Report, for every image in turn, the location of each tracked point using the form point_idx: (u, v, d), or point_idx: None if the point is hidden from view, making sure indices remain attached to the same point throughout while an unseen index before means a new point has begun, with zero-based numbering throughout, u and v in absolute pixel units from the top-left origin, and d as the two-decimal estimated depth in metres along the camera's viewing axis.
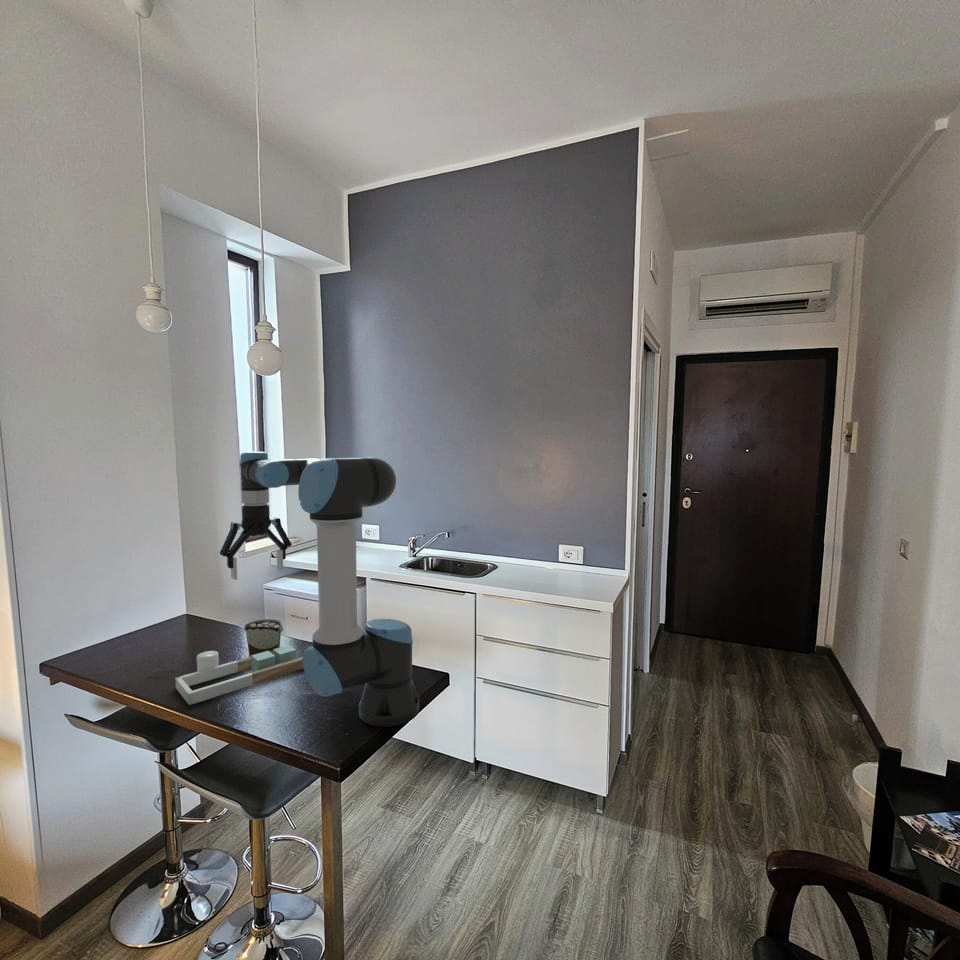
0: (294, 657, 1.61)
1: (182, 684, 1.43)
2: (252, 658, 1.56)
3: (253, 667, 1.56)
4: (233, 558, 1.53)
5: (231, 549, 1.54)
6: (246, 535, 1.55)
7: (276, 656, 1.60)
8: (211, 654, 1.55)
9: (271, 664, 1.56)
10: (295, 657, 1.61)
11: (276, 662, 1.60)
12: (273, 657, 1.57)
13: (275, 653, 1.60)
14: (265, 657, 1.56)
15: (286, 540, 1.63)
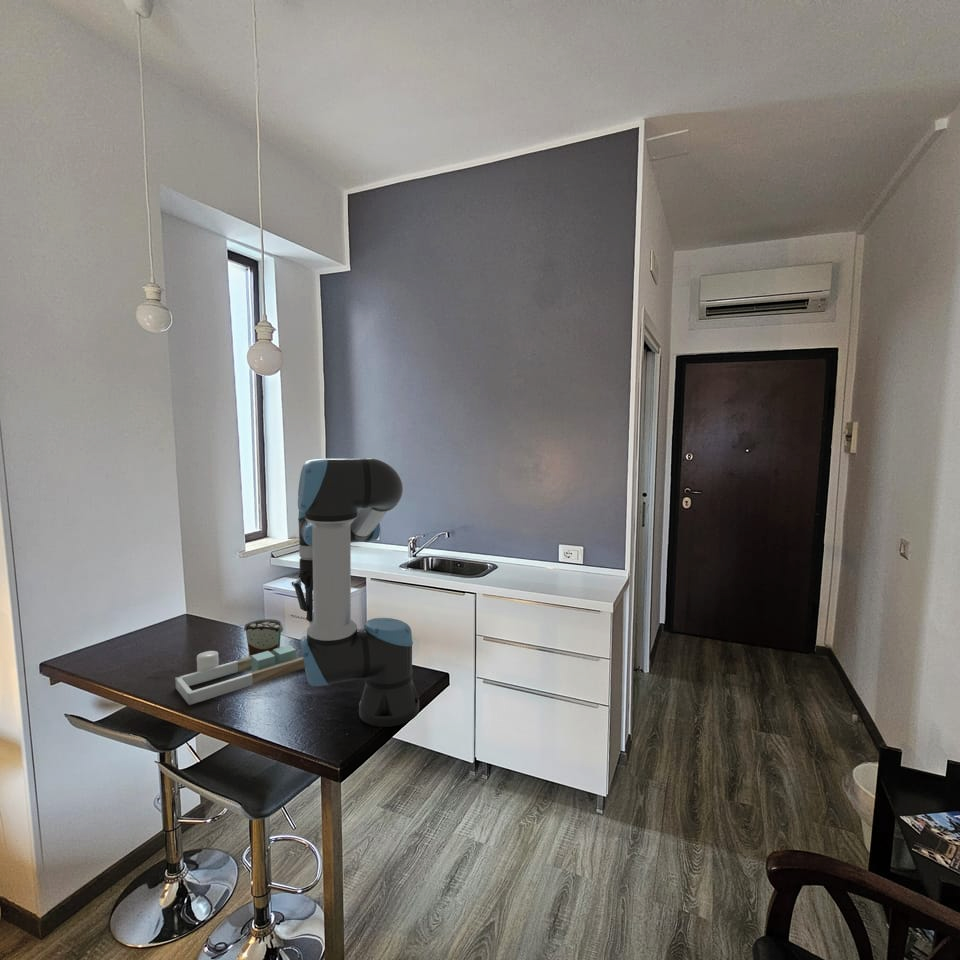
0: (294, 657, 1.61)
1: (182, 684, 1.43)
2: (252, 658, 1.56)
3: (253, 667, 1.56)
4: (312, 612, 1.66)
5: (307, 605, 1.66)
6: (310, 589, 1.64)
7: (276, 656, 1.60)
8: (211, 654, 1.55)
9: (271, 664, 1.56)
10: (295, 657, 1.61)
11: (276, 662, 1.60)
12: (273, 657, 1.56)
13: (275, 653, 1.60)
14: (265, 657, 1.56)
15: None
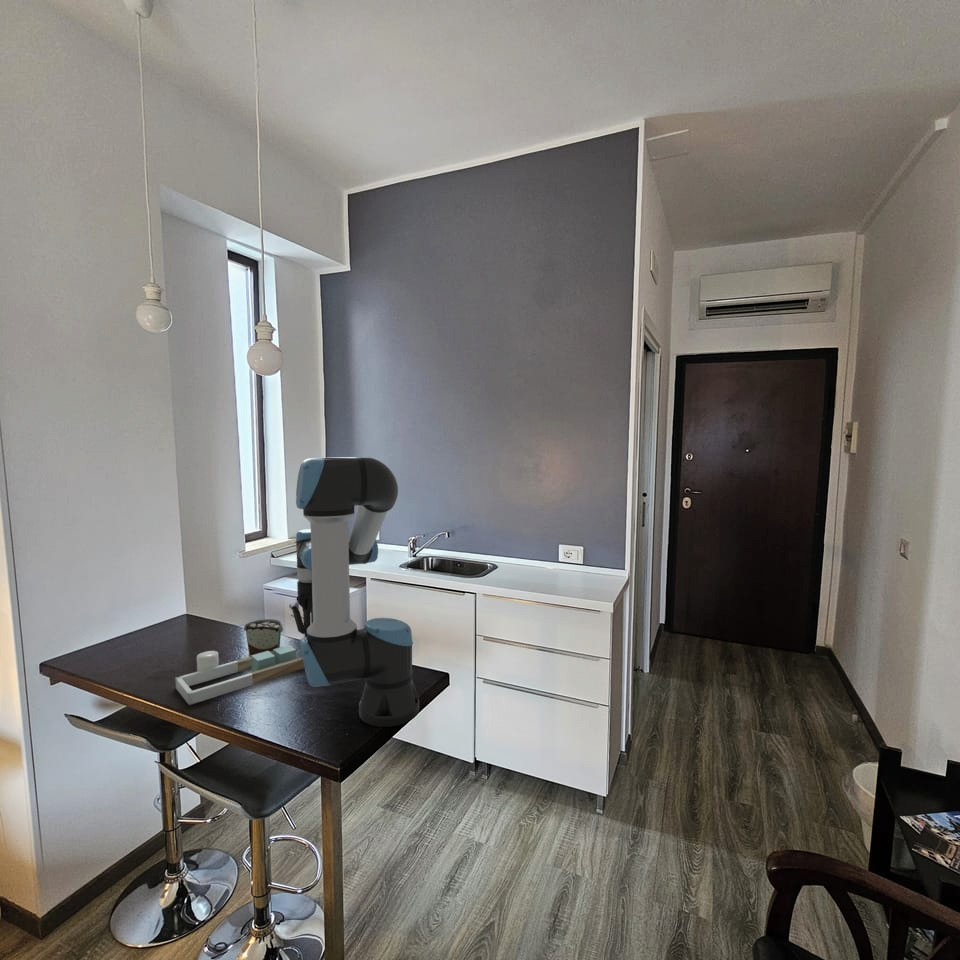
0: (294, 657, 1.61)
1: (182, 684, 1.43)
2: (252, 658, 1.56)
3: (253, 667, 1.56)
4: None
5: (305, 627, 1.65)
6: (308, 611, 1.64)
7: (276, 656, 1.60)
8: (211, 654, 1.55)
9: (271, 664, 1.56)
10: (295, 657, 1.61)
11: (276, 662, 1.60)
12: (273, 657, 1.56)
13: (275, 653, 1.60)
14: (265, 657, 1.56)
15: None
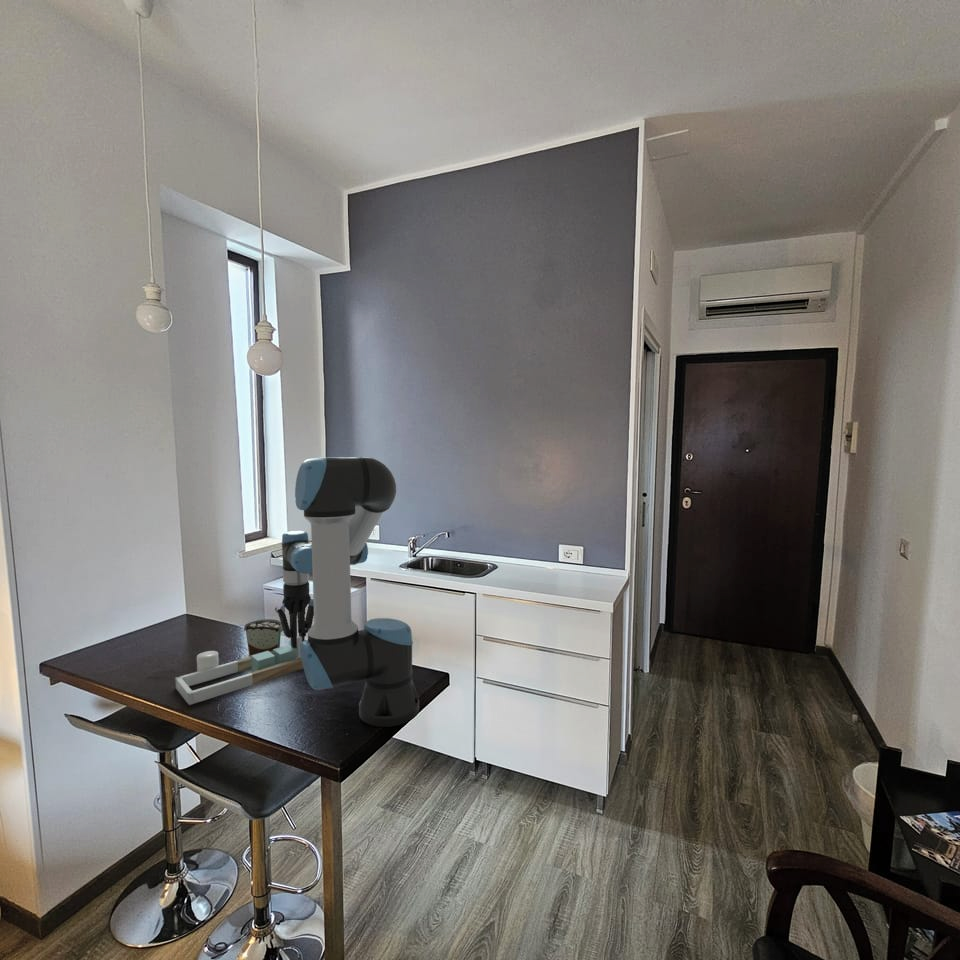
0: (294, 657, 1.61)
1: (182, 684, 1.43)
2: (252, 658, 1.56)
3: (253, 667, 1.56)
4: (297, 638, 1.63)
5: (291, 631, 1.62)
6: (294, 615, 1.61)
7: (276, 656, 1.60)
8: (211, 654, 1.55)
9: (271, 664, 1.56)
10: (295, 657, 1.61)
11: (276, 662, 1.60)
12: (273, 657, 1.56)
13: (275, 653, 1.60)
14: (265, 657, 1.56)
15: (309, 624, 1.65)
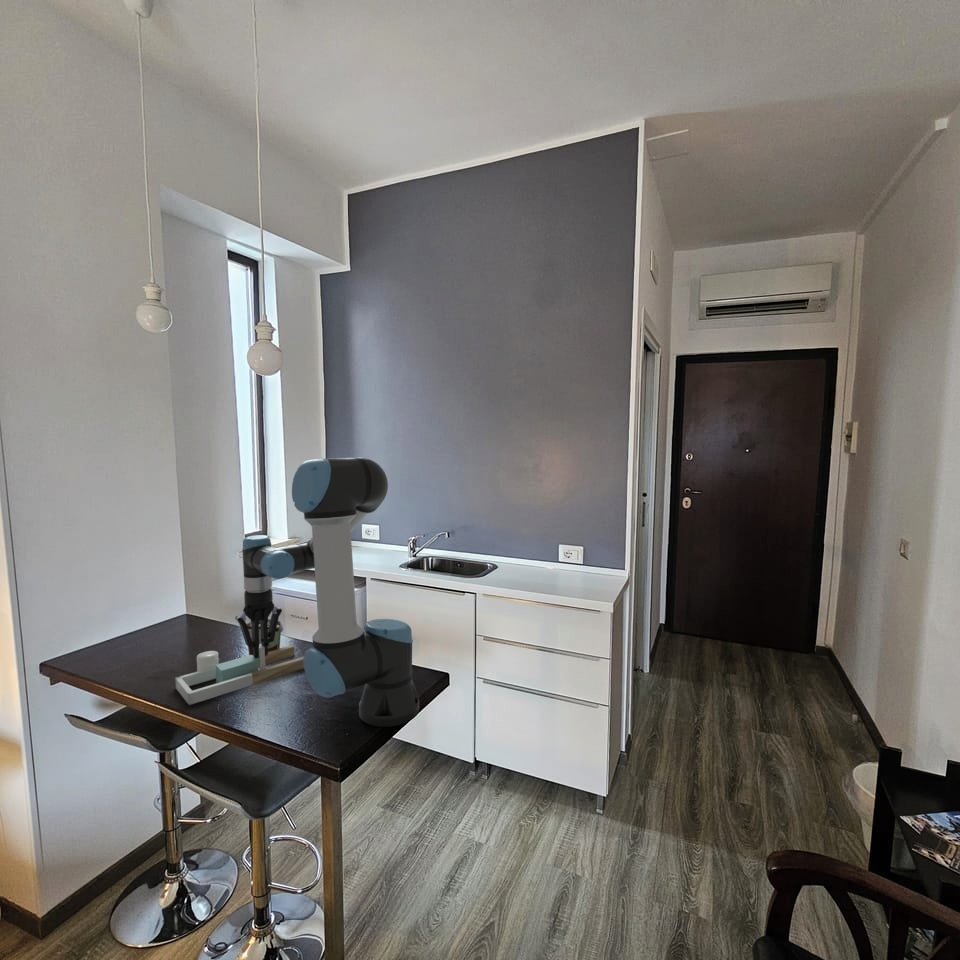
0: (256, 668, 1.53)
1: (182, 684, 1.43)
2: (216, 668, 1.50)
3: (217, 677, 1.50)
4: (259, 648, 1.55)
5: (253, 640, 1.55)
6: (256, 623, 1.53)
7: None
8: (211, 654, 1.55)
9: (235, 674, 1.49)
10: (257, 668, 1.54)
11: None
12: (238, 667, 1.50)
13: None
14: (229, 667, 1.49)
15: (272, 633, 1.57)
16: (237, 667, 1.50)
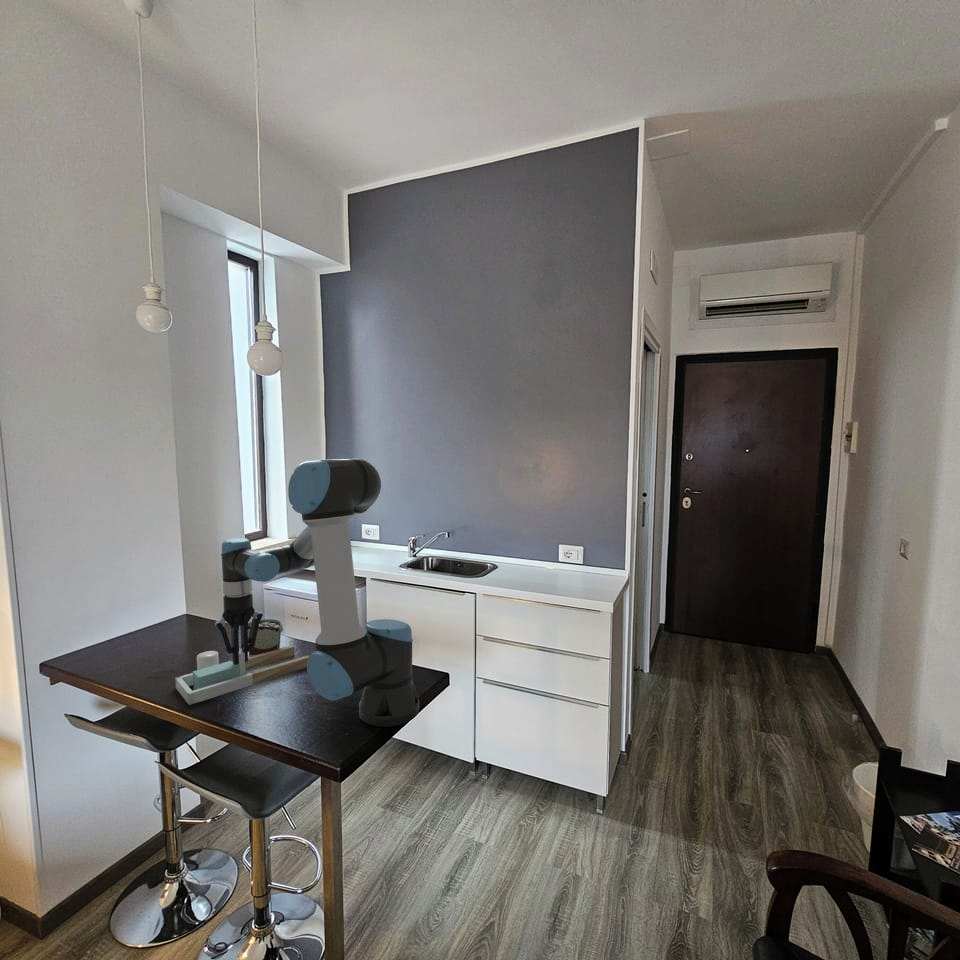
0: (235, 674, 1.49)
1: (182, 684, 1.43)
2: (193, 674, 1.46)
3: (194, 684, 1.46)
4: (239, 654, 1.51)
5: (233, 646, 1.51)
6: (235, 629, 1.49)
7: None
8: (211, 654, 1.55)
9: (213, 680, 1.45)
10: (236, 674, 1.49)
11: None
12: (216, 673, 1.46)
13: None
14: (207, 673, 1.45)
15: (253, 639, 1.53)
16: (215, 674, 1.46)
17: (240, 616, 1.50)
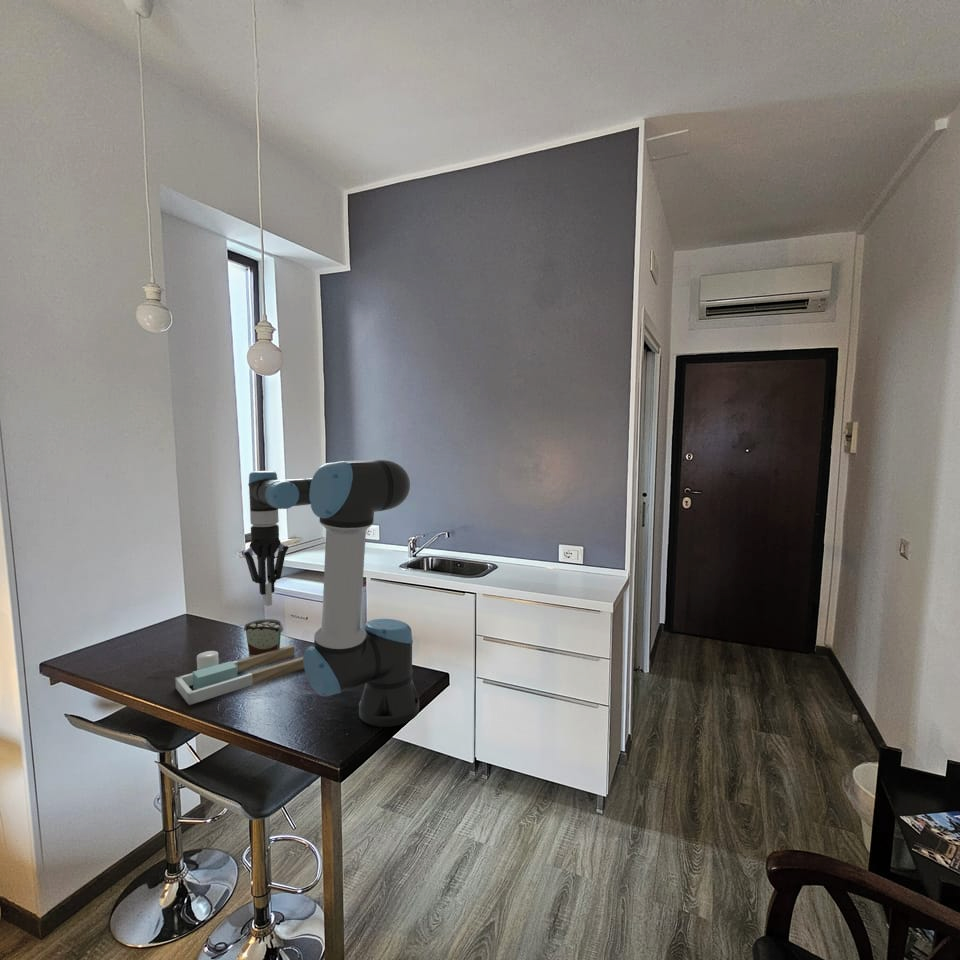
0: (234, 675, 1.49)
1: (182, 684, 1.43)
2: (193, 675, 1.46)
3: (194, 684, 1.46)
4: (265, 584, 1.54)
5: (260, 576, 1.53)
6: (263, 559, 1.52)
7: None
8: (211, 654, 1.55)
9: (213, 681, 1.45)
10: (236, 675, 1.49)
11: None
12: (216, 673, 1.46)
13: None
14: (207, 674, 1.45)
15: (279, 571, 1.56)
16: (215, 674, 1.46)
17: (267, 547, 1.53)
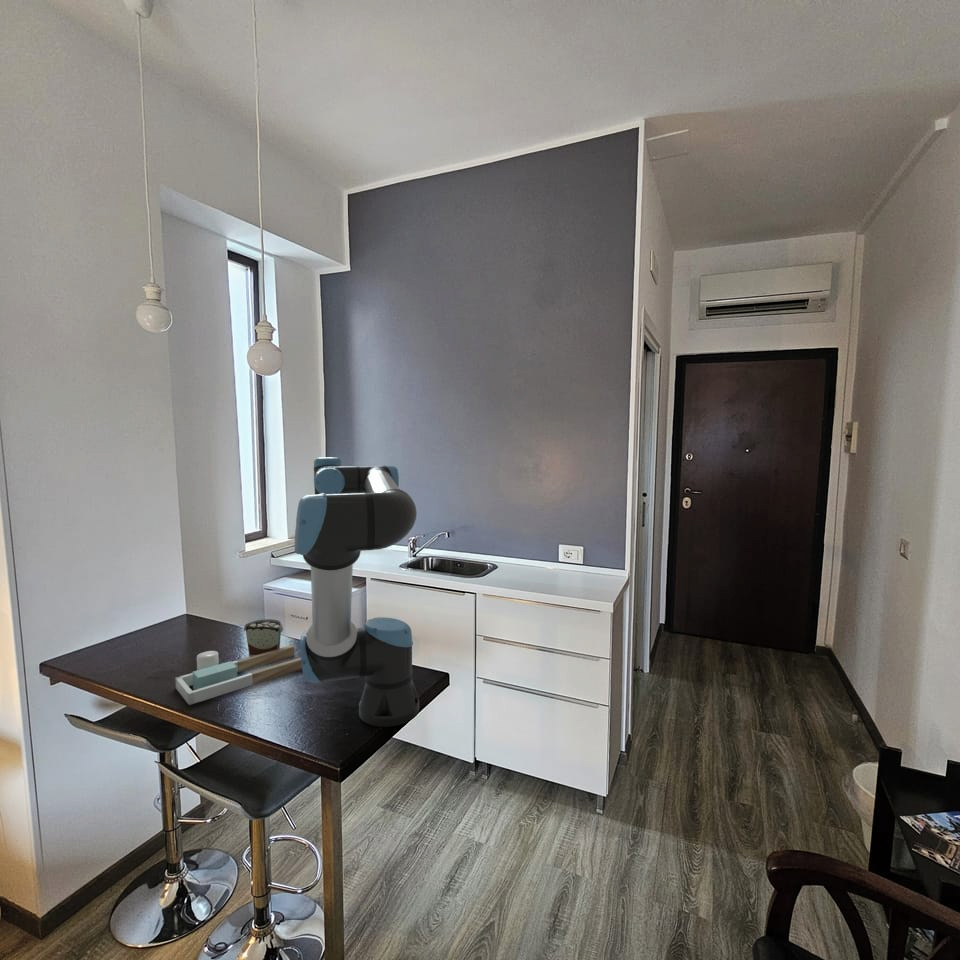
0: (234, 675, 1.49)
1: (182, 684, 1.43)
2: (193, 675, 1.46)
3: (194, 684, 1.45)
4: None
5: None
6: None
7: None
8: (211, 654, 1.55)
9: (213, 681, 1.45)
10: (236, 675, 1.49)
11: None
12: (216, 674, 1.46)
13: None
14: (207, 674, 1.45)
15: None
16: (215, 674, 1.46)
17: None
